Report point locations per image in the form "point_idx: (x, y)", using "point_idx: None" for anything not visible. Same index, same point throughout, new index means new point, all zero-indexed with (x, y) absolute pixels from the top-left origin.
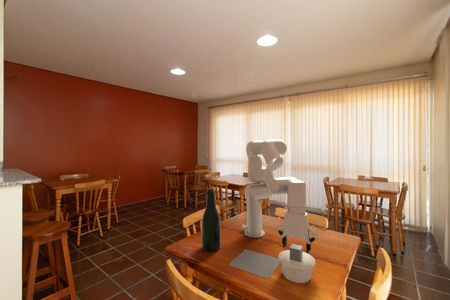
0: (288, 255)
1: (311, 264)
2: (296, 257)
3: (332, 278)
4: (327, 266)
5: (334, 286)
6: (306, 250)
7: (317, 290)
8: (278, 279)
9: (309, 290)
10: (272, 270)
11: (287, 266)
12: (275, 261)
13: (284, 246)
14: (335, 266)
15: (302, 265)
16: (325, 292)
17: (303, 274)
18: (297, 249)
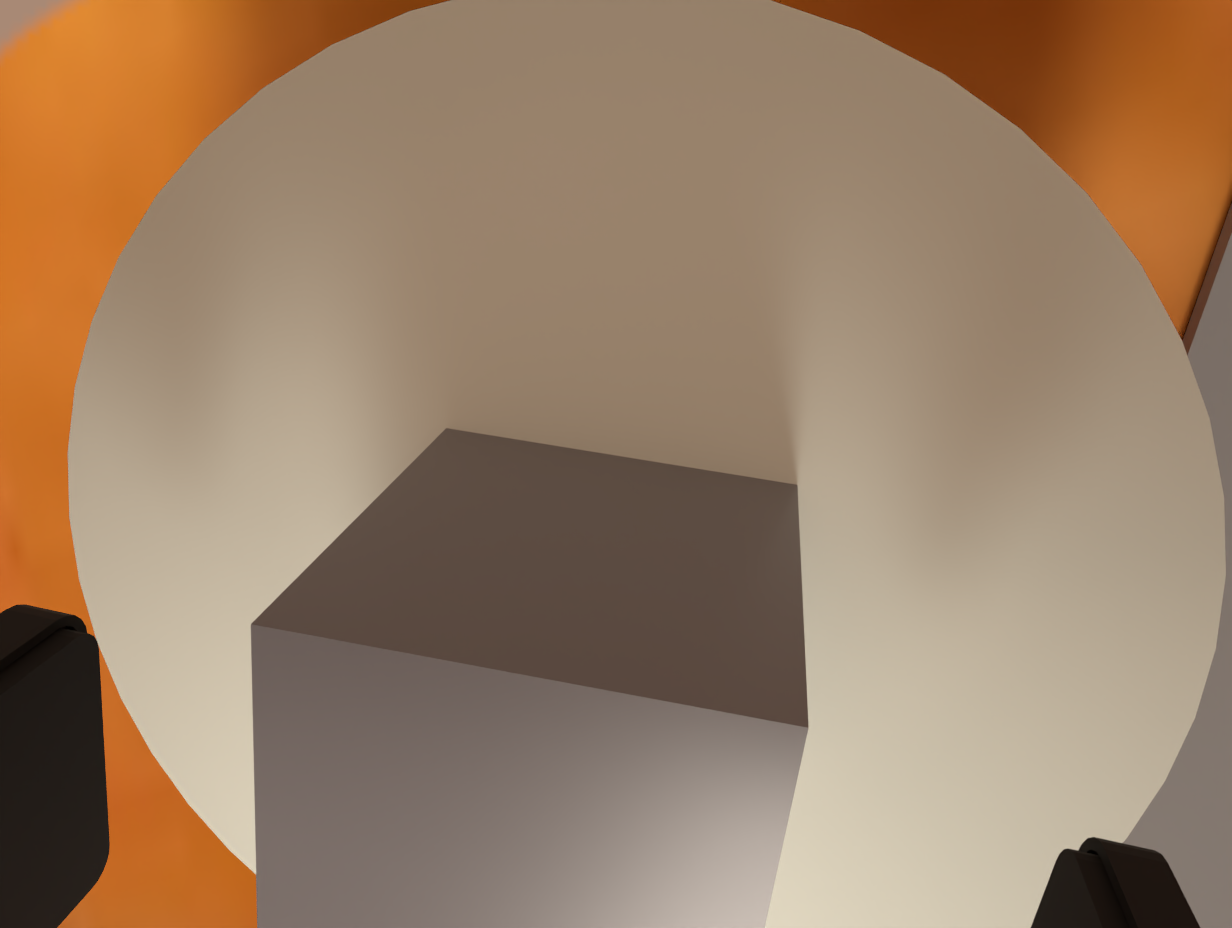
0: (857, 709)
1: (134, 407)
2: (544, 492)
3: (72, 575)
4: (197, 885)
5: (4, 352)
6: (5, 676)
7: (229, 96)
8: (1042, 148)
9: (362, 24)
10: (1214, 425)
11: (844, 32)
12: None
13: (1092, 868)
14: (92, 913)
15: (357, 245)
16: (96, 96)
17: None
18: (397, 655)
